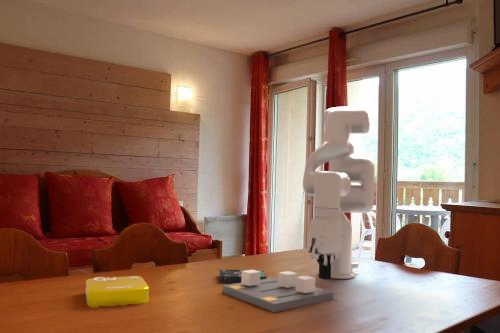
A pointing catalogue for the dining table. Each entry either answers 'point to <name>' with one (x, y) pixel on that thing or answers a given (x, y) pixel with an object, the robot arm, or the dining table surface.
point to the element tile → (116, 291)
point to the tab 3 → (305, 284)
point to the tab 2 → (287, 279)
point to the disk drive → (235, 276)
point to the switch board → (275, 295)
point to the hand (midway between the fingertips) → (324, 278)
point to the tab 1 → (250, 277)
